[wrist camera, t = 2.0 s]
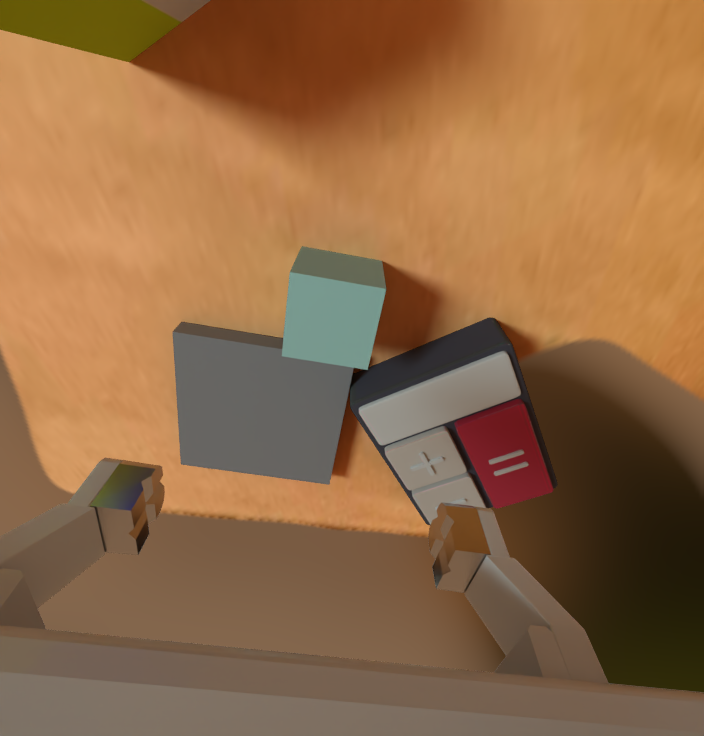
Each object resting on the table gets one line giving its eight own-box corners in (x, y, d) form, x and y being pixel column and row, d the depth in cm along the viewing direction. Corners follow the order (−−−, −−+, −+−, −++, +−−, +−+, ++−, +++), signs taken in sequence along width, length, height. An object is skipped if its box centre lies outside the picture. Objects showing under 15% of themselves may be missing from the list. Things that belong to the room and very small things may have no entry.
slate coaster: (355, 350, 28) (355, 361, 27) (330, 471, 35) (329, 484, 33) (181, 321, 27) (172, 331, 26) (187, 451, 34) (180, 464, 32)
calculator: (429, 535, 34) (347, 412, 26) (421, 493, 37) (347, 374, 30) (563, 496, 31) (516, 346, 23) (541, 454, 35) (493, 313, 27)
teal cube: (382, 260, 25) (386, 289, 21) (366, 331, 28) (367, 369, 23) (302, 246, 25) (289, 271, 21) (294, 319, 27) (281, 356, 23)
